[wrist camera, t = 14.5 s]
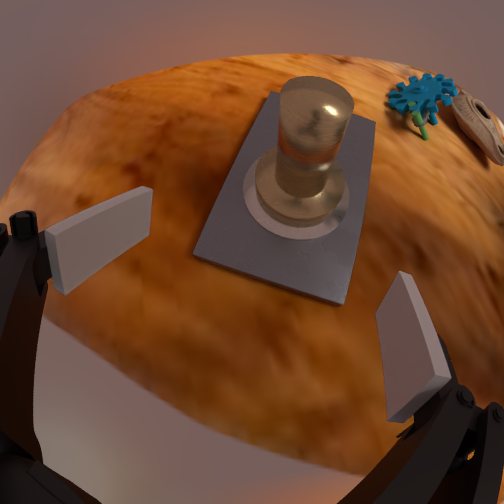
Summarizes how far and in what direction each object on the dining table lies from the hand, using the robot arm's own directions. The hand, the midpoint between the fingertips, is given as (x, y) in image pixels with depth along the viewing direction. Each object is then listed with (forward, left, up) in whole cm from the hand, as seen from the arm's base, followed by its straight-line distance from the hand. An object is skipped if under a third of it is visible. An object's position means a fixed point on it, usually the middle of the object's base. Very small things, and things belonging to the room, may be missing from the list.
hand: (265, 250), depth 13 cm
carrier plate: (0, -10, -8) cm, 13 cm away
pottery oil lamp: (-22, -29, -9) cm, 38 cm away
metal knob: (0, -8, -7) cm, 11 cm away
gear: (-12, -27, -9) cm, 30 cm away
